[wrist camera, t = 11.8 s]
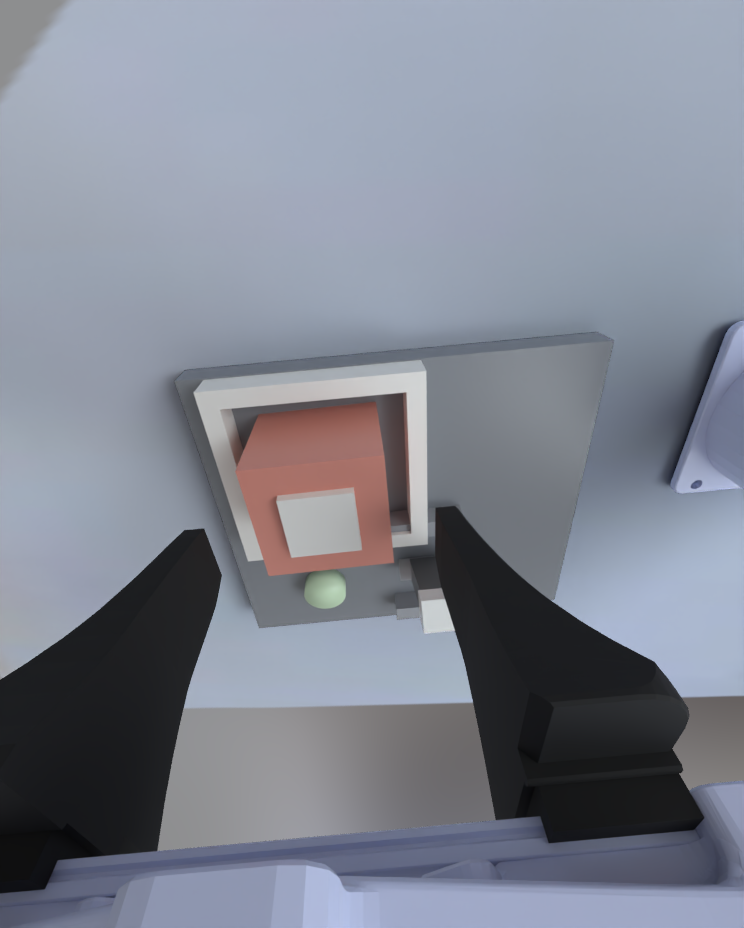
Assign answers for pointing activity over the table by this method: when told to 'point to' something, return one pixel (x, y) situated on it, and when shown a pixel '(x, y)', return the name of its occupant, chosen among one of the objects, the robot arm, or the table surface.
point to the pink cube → (318, 489)
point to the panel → (418, 457)
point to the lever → (427, 593)
